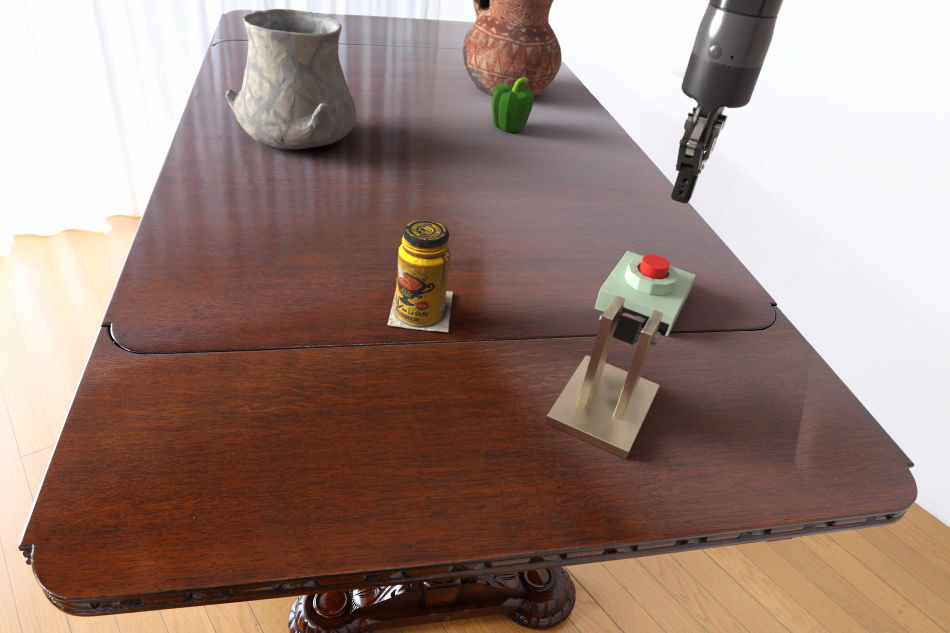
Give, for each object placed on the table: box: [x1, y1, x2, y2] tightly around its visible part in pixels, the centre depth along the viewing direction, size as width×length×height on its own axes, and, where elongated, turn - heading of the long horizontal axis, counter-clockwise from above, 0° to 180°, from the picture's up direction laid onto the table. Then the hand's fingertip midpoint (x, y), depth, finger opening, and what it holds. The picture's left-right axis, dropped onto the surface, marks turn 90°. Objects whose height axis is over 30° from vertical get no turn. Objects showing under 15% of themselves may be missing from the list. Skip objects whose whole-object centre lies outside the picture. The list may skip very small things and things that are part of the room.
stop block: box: [594, 250, 696, 337], centre depth 91 cm, size 12×10×5 cm
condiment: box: [387, 218, 454, 333], centre depth 81 cm, size 7×8×12 cm
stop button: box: [639, 253, 671, 280], centre depth 89 cm, size 4×4×2 cm
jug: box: [461, 0, 562, 97], centre depth 148 cm, size 22×21×25 cm
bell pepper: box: [491, 77, 535, 133], centre depth 134 cm, size 8×8×10 cm
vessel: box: [224, 8, 357, 150], centre depth 115 cm, size 22×22×20 cm
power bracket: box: [544, 295, 663, 460], centre depth 71 cm, size 12×9×13 cm
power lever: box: [612, 307, 669, 346], centre depth 72 cm, size 12×6×2 cm, turn 153°
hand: (680, 199), depth 83 cm, fingers closed
